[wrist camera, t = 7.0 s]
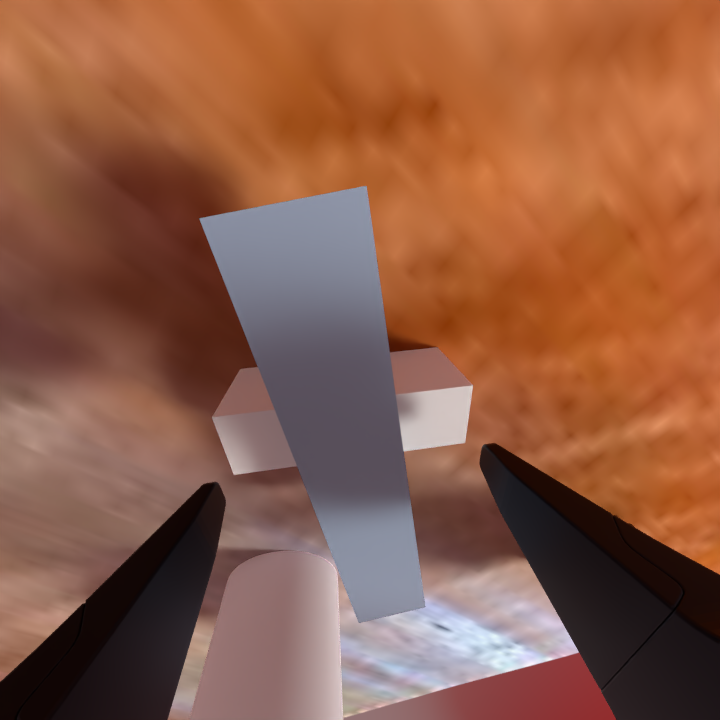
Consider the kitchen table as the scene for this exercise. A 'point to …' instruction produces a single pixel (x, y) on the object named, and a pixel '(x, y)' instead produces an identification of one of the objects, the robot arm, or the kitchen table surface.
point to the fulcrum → (414, 402)
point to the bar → (329, 379)
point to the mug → (275, 643)
